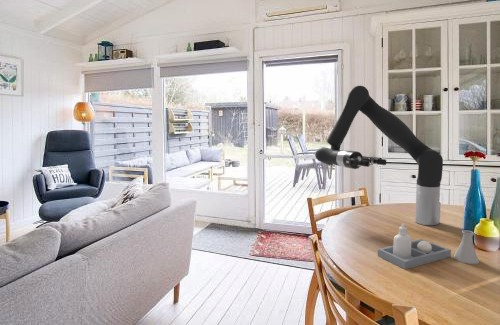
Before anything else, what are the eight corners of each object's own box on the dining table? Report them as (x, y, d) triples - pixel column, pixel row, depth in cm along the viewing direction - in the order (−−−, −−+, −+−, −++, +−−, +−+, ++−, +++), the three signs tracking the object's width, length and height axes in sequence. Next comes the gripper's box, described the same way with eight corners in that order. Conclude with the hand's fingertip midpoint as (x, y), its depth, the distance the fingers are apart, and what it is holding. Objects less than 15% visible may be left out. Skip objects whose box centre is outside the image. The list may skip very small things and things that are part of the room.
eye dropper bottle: (391, 255, 106) (392, 221, 104) (409, 256, 104) (410, 222, 103) (393, 260, 102) (395, 225, 100) (412, 262, 100) (414, 226, 99)
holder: (421, 246, 114) (421, 238, 114) (450, 258, 104) (451, 249, 103) (377, 257, 106) (377, 248, 106) (404, 270, 96) (404, 261, 95)
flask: (484, 266, 97) (486, 236, 96) (458, 265, 99) (460, 235, 98) (473, 257, 104) (474, 228, 103) (449, 255, 106) (450, 227, 105)
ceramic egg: (423, 250, 110) (423, 238, 109) (434, 254, 106) (435, 242, 105) (414, 252, 108) (414, 240, 107) (425, 257, 104) (426, 244, 103)
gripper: (336, 151, 133) (363, 154, 118) (362, 149, 138) (391, 152, 123) (335, 169, 133) (362, 174, 119) (361, 166, 139) (390, 171, 124)
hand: (377, 163), depth 121 cm, fingers open, 8 cm apart
